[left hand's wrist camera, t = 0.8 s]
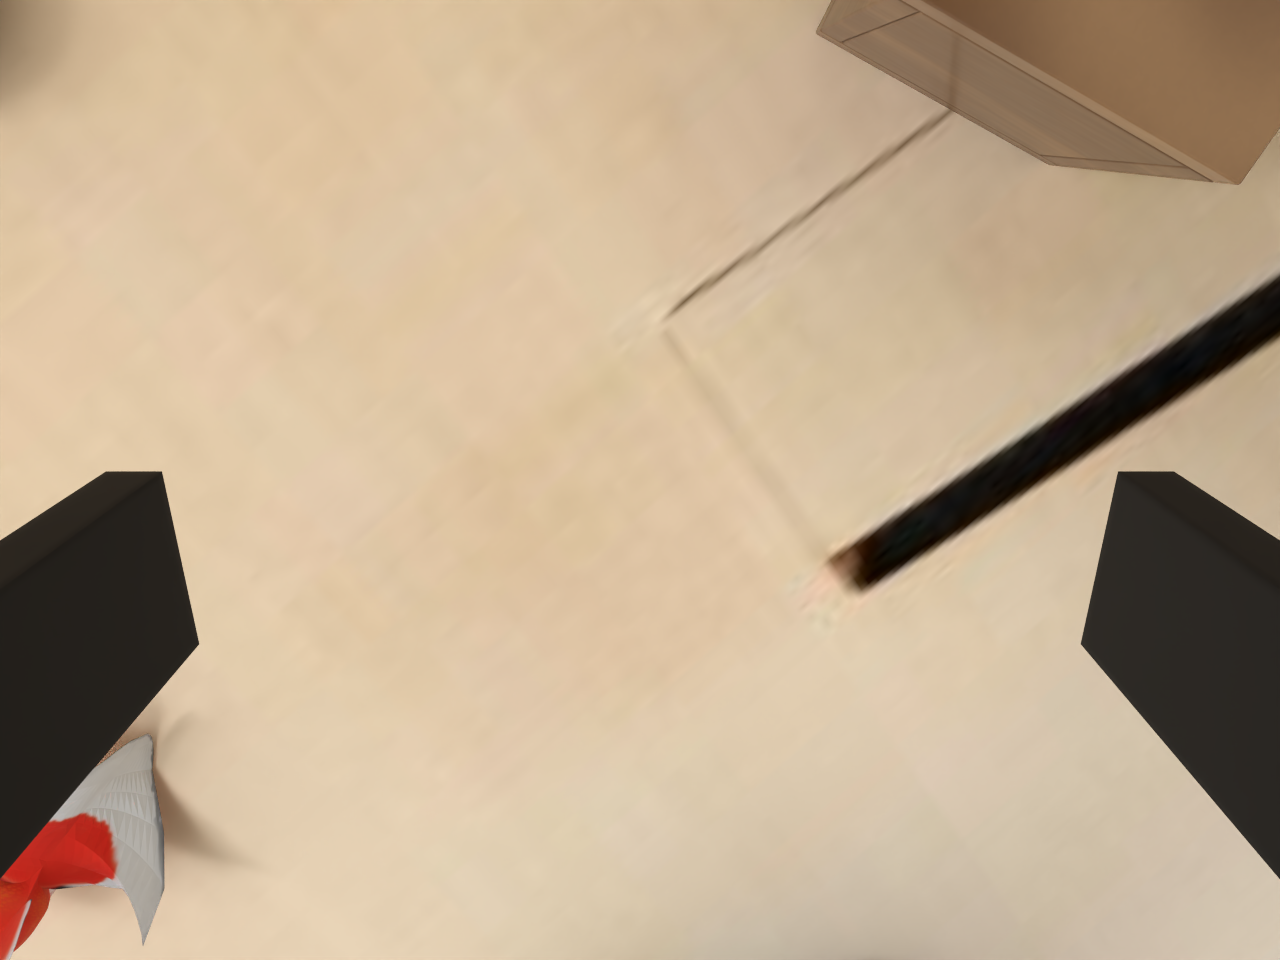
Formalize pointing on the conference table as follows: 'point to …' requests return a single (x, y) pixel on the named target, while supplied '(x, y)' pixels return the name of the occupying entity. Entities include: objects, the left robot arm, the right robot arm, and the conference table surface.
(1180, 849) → the conference table surface
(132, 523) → the left robot arm
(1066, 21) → the lid
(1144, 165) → the chest
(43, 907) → the fish
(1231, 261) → the conference table surface
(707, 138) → the conference table surface
